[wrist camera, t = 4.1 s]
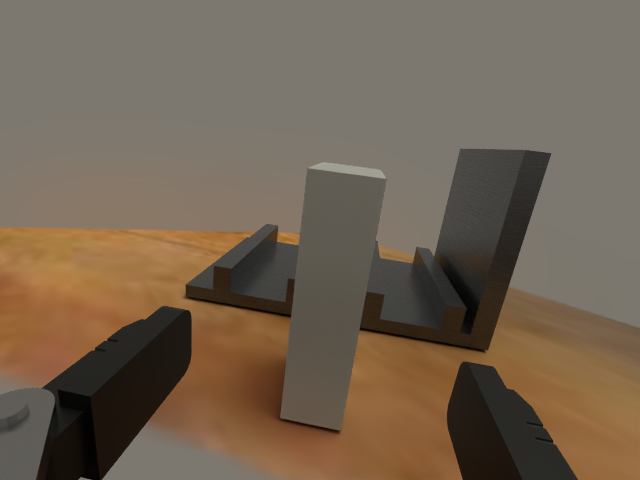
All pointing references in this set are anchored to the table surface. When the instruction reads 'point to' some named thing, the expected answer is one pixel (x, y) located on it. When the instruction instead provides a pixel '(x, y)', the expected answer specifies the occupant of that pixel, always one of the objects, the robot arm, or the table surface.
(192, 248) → the table surface
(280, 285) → the rack
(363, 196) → the light grey block
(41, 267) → the table surface
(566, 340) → the table surface
